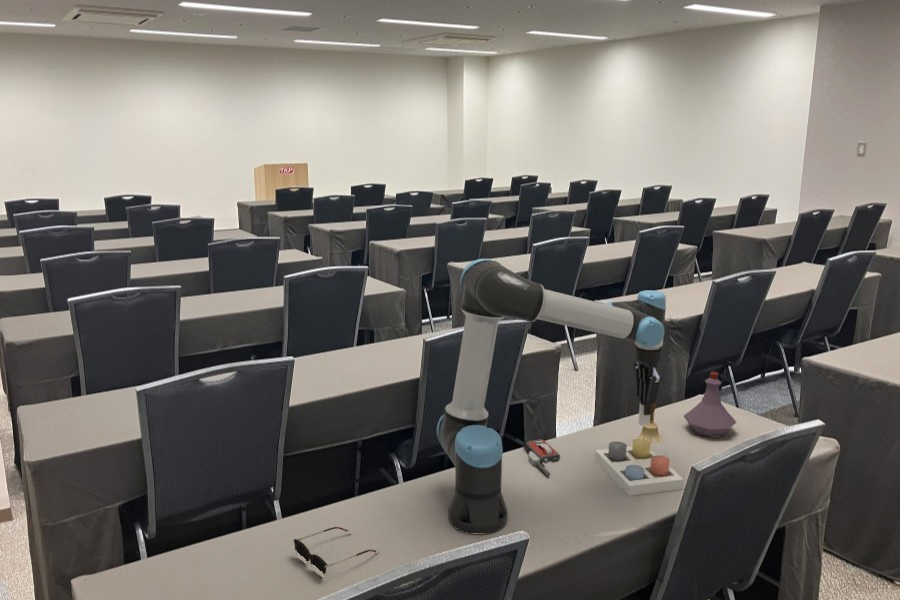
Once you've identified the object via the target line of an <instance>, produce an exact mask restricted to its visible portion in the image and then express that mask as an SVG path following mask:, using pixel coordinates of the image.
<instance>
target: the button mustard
mask: <svg viewBox="0 0 900 600" xmlns="http://www.w3.org/2000/svg"><path fill="white" fill-rule="evenodd" d="M650 450H651V443H650V442H649V441H647V440H644V439H639V438H636V439H633V440H632V456H633V457H635V458H638V459H647V458H649V457H650Z"/></svg>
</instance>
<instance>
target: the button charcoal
mask: <svg viewBox="0 0 900 600" xmlns="http://www.w3.org/2000/svg"><path fill="white" fill-rule="evenodd" d="M627 447H628V446H627V443H625V442H622V441H612V442H609V443H608V449H609V452H608V458H609V459H610V460H611V461H615V462H623V461H625V460H626V449H627Z"/></svg>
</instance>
